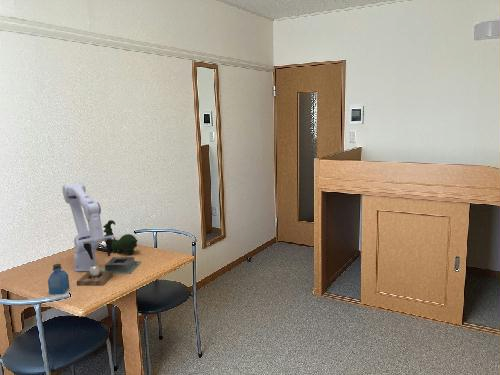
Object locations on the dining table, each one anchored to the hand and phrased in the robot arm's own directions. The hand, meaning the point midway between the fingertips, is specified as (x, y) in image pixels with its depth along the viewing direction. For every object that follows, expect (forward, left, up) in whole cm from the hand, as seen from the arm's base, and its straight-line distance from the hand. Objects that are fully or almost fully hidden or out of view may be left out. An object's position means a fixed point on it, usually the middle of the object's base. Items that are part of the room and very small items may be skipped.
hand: (100, 257), depth 191 cm
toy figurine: (-4, +39, -11) cm, 41 cm away
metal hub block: (+3, +15, -11) cm, 19 cm away
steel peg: (-3, -1, -11) cm, 11 cm away
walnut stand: (-3, -1, -11) cm, 11 cm away
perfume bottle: (-14, -13, -11) cm, 22 cm away
